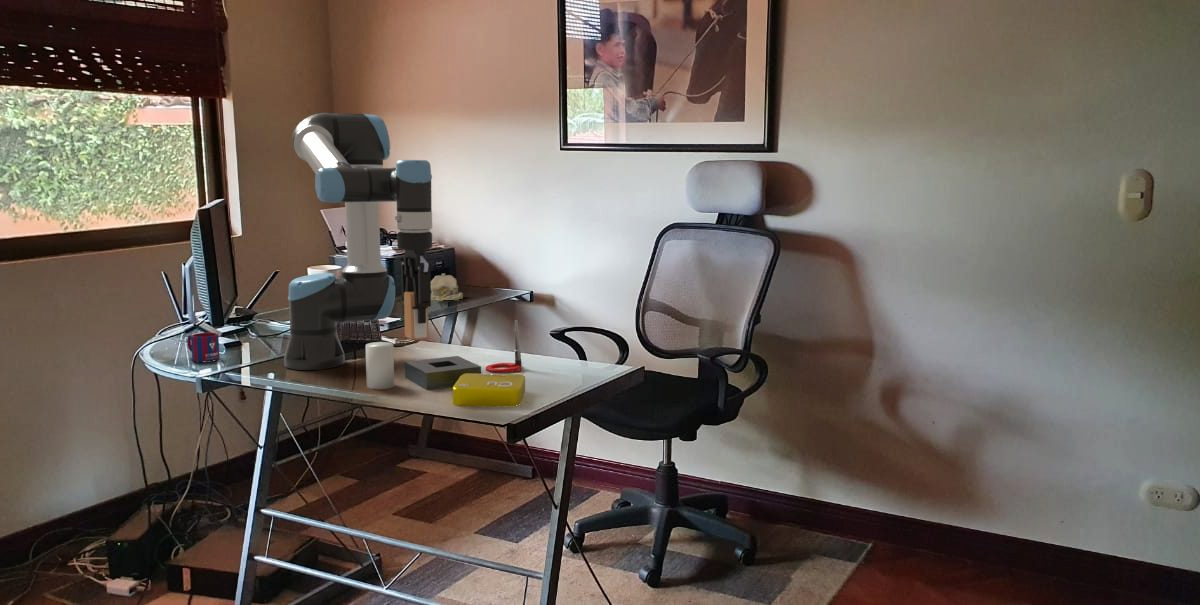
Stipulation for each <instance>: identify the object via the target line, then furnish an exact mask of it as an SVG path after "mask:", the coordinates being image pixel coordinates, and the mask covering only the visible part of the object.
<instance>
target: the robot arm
mask: <svg viewBox="0 0 1200 605" xmlns="http://www.w3.org/2000/svg"><path fill="white" fill-rule="evenodd" d="M291 145H292V149H293V151H294V152H295V154H296V155H297V156H298V157H299V159H301V161H304V162H306V163H308V165H309V167H310V168H311V170H312V171H313V173H315V176H314V179H315V180H314V186H315V193H316V197H317V199H318V200H319V201H320V202H323V203H332V204H339V203H344V206H345V208H344V209H345V211H344V212H345V228H346V229H345V231H346V236H345V237H346V253H347V254H346V256H347V258H346V260H347V261H346V262H347V264H346V266H345V267H344V268H343V269H342V270H341V278H337V277H336V275H335V273H333V272H325V273H324V272H323V273H313V274H308V275H304V276H303V275H302V276H299V277H296V278H294V279H292V280H291V281H290V282H289V284H288V295H287V300H288V309H289V310H288V312H289V333H290V334H289V339H288V343H287V347H286V350H285V353H284V358H283V362H284V367H285V368H286V369H287V368H288V369H291V370H297V371H298V370H300V371H302V370H303V371H311V370H313V371H314V370H315V371H316V370H327V369H332V367H333V368H336V366H337V367H339V365H340V366H342V365H344V364H345V362H346V359H345V358H346V356H345V352H344V350H343V346H342V343H341V341H340V339H339V336H338V331H337V330H338V329H337V325H338V323H351V322H353V323H354V322H364V321H370V322H373V321H377V320H385V319H387V318H388V317H389V316H390V315H391V314H392V311H393V308H394V304H395V298H396V286H395V280H394V277H393V276H391V275H390V274H388V269H387V268H386V267H385V266H384V265H383V264H382V261H381V259H382V257H381V235H380V234H381V230H380V229H381V228H380V206H379V205H380V204H379V203H382V202H383V203H384V202H387V203H388V202H389V203H390V202H391V203H392V202H393V203H394V202H396V215H395V216H394V219H395V221H396V226H397V227H396V228H397V229H398V230H399V231H398V232H397V233H396V237H397V238H396V239H397V241H396V242H397V244H396V245H397V248H398V249H399V250H402V251H403V250H404V256H402V257H401V256H400V257H399V265H400V281H401V282H400V283H401V284H400V286H401V288H400V289H401V300H402V302H404V292H412V291H414V297H415V306H414V307H412V309H414V338H420V339H424V338H423V337H427V310H426V308H428V309H429V307H431V305H432V301H431V293H432V291H431V281H432V278H431V277H432V275H431V274H432V266H433V265H432V262H429V261H428V260H427V255H426V250H431V249H432V248H433V233H432V232H431V231H430V230H432V229H433V211H432V206H433V205H432V178H433V176H432V175H433V174H432V168H431V163H430V161H428V160H427V159H399V160H397V161H396V163H395V167H384V161H386V160H388V159H389V158H390V154H391V153H390V152H391V151H390V150H391V142H390V135H389V131H388V128H387V125H386V124H385V122H384V120H383V118H381V117H380V116H379V115H377V114H369V113H339V112H338V113H335V112H333V113H331V112H330V113H329V112H321V113H315V114H312V115H309V116H308V117H305V118H304V119H303V120H301V121H300V122H299V123H298V124H297V125H296V127H295V128H294V130H293V132H292V136H291Z"/></svg>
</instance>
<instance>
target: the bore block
mask: <svg viewBox="0 0 1200 605" xmlns="http://www.w3.org/2000/svg"><path fill="white" fill-rule="evenodd" d="M404 373H405V374H404V375H405V376H404V377H405V379H407V380H408V381H410V382H412V383H414V384H416V385H418V386H419V387H421V388H423V389H425V390H435V389H444V388H453V386H454V385H455V383H456V382H457V381H458V379H459V378H460V376H461V375H463V374H465V373H477V374H482V366H480V365H479V364H476V363H475V362H473V361H471V360H468V359H465V358H463V357H461V356H458V355H453V356H452V355H451V356H447V357H446V356H445V357H438V358H437V357H435V358H429V359H428V358H426V359H419V360H409V361H404Z"/></svg>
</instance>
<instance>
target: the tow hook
mask: <svg viewBox="0 0 1200 605" xmlns="http://www.w3.org/2000/svg"><path fill="white" fill-rule="evenodd" d="M513 331H514V335H513V336H514V363H513V362H498V363H493V364H488V365H486V366H485V371H486V372H488V373H490V374H491V373H492V374H495V373H496V374H506V373H510V372H517V373H521V371H522V365H523V364H522V358H521V356H522V355H521V353H522V352H521V348H520V347H521V344H520V328H519V323H518V320H517V319H515V320H514V328H513ZM504 367H505V368H504Z"/></svg>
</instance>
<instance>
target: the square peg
mask: <svg viewBox="0 0 1200 605" xmlns="http://www.w3.org/2000/svg"><path fill="white" fill-rule="evenodd" d="M403 306H404V308H403V309H404V310H403V312H404V313H403V314H404V317H403V318H404V337H405V338H408V339H409V340H420V339H421V338H414V309H412V307H414V306H415V297H414V291H412V292H404V301H403ZM426 310H427V337H423V338H422V339H428V338H429V307H428V308H426Z"/></svg>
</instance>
